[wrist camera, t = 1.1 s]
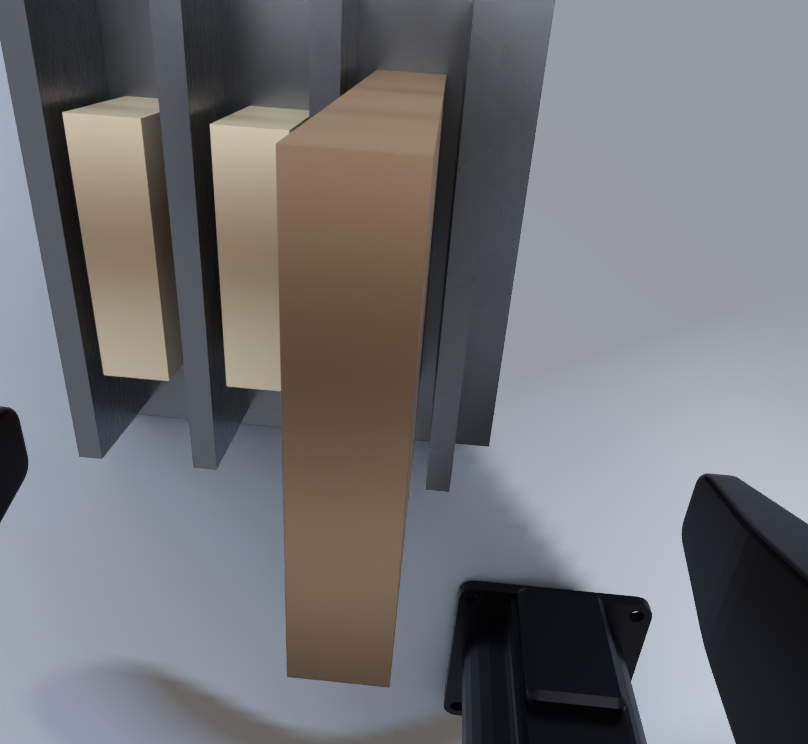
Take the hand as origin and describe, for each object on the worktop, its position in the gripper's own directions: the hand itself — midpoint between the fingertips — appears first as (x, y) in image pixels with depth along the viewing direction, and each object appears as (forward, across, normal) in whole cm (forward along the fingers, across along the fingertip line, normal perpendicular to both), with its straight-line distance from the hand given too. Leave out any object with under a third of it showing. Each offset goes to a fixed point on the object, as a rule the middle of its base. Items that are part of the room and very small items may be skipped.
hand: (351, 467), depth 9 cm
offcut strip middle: (+10, +3, 0) cm, 10 cm away
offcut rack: (+10, +3, 0) cm, 11 cm away
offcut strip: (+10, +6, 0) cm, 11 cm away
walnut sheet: (+10, 0, 0) cm, 10 cm away
